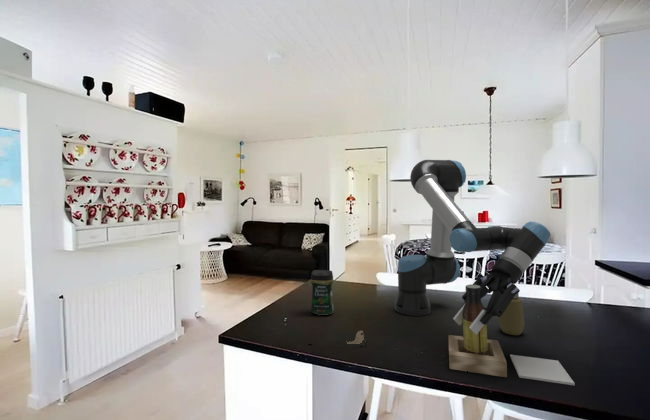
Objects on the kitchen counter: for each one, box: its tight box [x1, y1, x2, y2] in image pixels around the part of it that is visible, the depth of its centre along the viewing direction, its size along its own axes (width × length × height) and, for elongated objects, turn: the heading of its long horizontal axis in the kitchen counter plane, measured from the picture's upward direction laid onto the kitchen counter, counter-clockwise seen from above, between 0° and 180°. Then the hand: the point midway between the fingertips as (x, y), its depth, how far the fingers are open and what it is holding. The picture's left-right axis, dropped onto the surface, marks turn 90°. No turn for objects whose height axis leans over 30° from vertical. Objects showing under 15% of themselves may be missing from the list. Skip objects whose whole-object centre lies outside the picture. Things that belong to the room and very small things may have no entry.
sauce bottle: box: [462, 284, 488, 356], centre depth 91 cm, size 7×6×20 cm
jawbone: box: [346, 330, 365, 344], centre depth 105 cm, size 9×20×2 cm, turn 110°
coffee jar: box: [310, 269, 335, 314], centre depth 135 cm, size 10×8×19 cm
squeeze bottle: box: [498, 292, 525, 336], centre depth 111 cm, size 8×8×18 cm
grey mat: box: [509, 354, 575, 386], centre depth 86 cm, size 12×12×1 cm
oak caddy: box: [448, 334, 508, 378], centre depth 92 cm, size 14×14×4 cm
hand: (464, 326), depth 91 cm, fingers closed on sauce bottle, 6 cm apart
